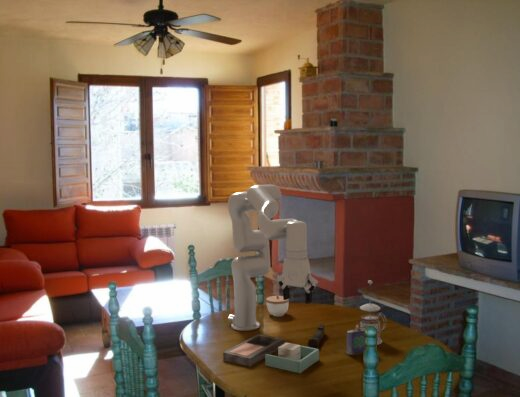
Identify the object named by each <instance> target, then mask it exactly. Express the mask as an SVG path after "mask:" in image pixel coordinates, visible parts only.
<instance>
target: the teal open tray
mask: <svg viewBox="0 0 520 397" xmlns="http://www.w3.org/2000/svg"><path fill="white" fill-rule="evenodd" d="M285 343H286V342H284V344H285ZM264 359H265V360H264V364H265V366H267V367H271V368H276V369H279V370H284V371H288V372H293V373H298V374H301V373H303V372H304V371H305V370H307V369H308V368H310V367H311V366H313V365H314V364H315V363H316V362H318V361H319V360H320V350H319V348H310V347H309V346H304V345H301V360H300V361H297V360H292V359H288V358H283V357H279V356H277V355H273V354H270V355H269V354H265V358H264Z"/></svg>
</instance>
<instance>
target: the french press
mask: <svg viewBox="0 0 520 397" xmlns="http://www.w3.org/2000/svg"><path fill="white" fill-rule="evenodd" d="M367 284H369V285H372V284H373V281H372V280H371V279H369V280H367ZM359 309H360V310H361V311H364V312H368V313H371V312H372V313H373V312H378V311H380V310H381V307H380V306H379V305H378V304H376V303H371V302H369V303H365V304H362V305H361V306H359ZM381 315H382V316H381ZM380 317H381V318H382V320H383V321H387V318H386V316H385V315H384V314H383V313H382V312H379V313H377V315H373V314H365V315H361V317H360V318H361V320H360V328H368V327H367V326H374V327H375V328H376V329H377V331H378V333H377V345H381V344H383V340H382V339H381V331H383V330H385V329H386V326H387V324H384V325H383V326H382V328H381V321H380V320H379V319H380ZM377 345H376V346H377Z"/></svg>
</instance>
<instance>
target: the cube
mask: <svg viewBox="0 0 520 397" xmlns="http://www.w3.org/2000/svg"><path fill="white" fill-rule="evenodd" d="M284 343H285V344H283V345H281V346H280V347H278V350H277V352H278V354H277V355H278V356H279V357H283V358H288V359H292V360H297V361H300V360H301V359H302V357H301V346H302V345H300V344H296V343H290V342H284Z"/></svg>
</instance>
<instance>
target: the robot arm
mask: <svg viewBox="0 0 520 397" xmlns="http://www.w3.org/2000/svg"><path fill="white" fill-rule="evenodd" d="M281 201H282V192H281V189H280V188H279V186H277V185H276V184H256V185H253V186H250V187H249V188H248V189H247V190H246V191H238V192H235V193H232V194H231V195H230V196H229V197H228V201H227V208H228V209H227V210H228V213H229V216H230V219H231V224H232V229H231V230H232V241H233V248H234V251H235V252H236V253H238V254H239V253H240V254H241V253H243V254H245V253H256V254H248V255H240V256H237V257H235V258H234V259H232V261H231V264H230V265H231V266H230V267H231V273H232V279H233V299H234V301H233V302H234V304H233V305H234V307H233V308H234V314H232V313H231V314H229V315H228V317H227V320H228V321H232V323H231V325H230V327H231V329H233V330H236V331H241V332H242V331H243V332H244V331H245V332H246V331H247V332H248V331H255V330H257V329H258V328H260V322H259V321H257V304H256V303H257V296H256V295H257V294H256V292H257V289H256V285H255V283H254V282H253V281H252V279H251V278H255V277H261V276H266V275H268V274H269V273H270V271H271V253H270V252H271V250H270V241H276V240H285V242H286V243H285V248H286V249H285V250H284V251H283V254H284V255H285V256H286V257H284V259H283V264H282V273H281V274H279V275H277V276H276V279H277V281H278V285H280V287H281V289H282V296H283V299H284V300H287V299H289V300H290V297H291V296H290V291H291V290H290V287H295V288H304V290H305V294H304V298H305V299H304V300H305V301H304V303H305V304H307V305H308V304H310V303H312V302H313V292H314V290H315V289H316V288H317V286H318V285H319V281H318V280H317V279H316V278H315V277H313V276H312V273H311V265H310V261H309V260H310V259H309V258H308V250H307V249H308V247H307V246H308V245H307V244H308V243H307V242H308V238H307V237H308V236H307V233H308V231H307V223H306V222H305V221H302V220H298V219H296V218H279V219H278V218H277V219H273V218H274V217H276V215H277V214H278V212H279V209H280V205H279V203H281ZM247 212H257V213H258V214H257V216H256V223H257V226H258V229H255V230H253V227H252V219H251V218H250V215H249V213H247ZM311 283H312V285H311Z"/></svg>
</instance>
